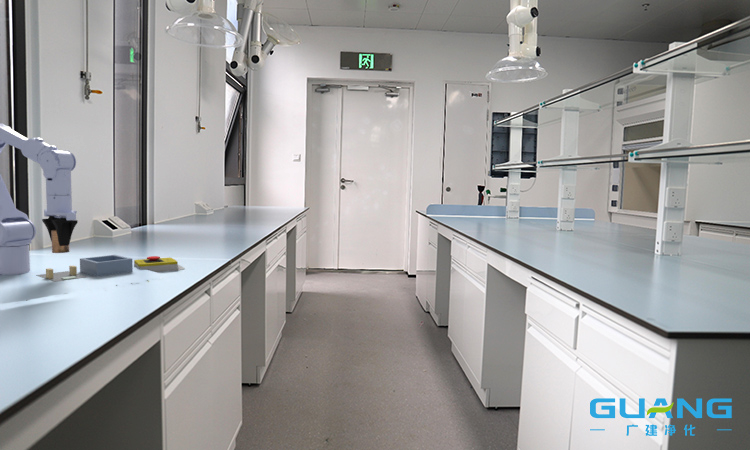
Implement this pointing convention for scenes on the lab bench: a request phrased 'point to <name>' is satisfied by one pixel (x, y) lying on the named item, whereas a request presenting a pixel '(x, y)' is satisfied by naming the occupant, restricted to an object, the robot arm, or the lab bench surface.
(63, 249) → the copper cell
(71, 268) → the checker cradle
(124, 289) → the lab bench surface
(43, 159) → the robot arm
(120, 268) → the grey open box
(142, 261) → the emergency button
